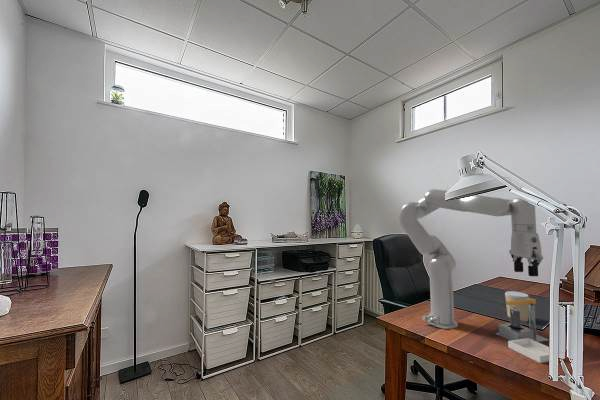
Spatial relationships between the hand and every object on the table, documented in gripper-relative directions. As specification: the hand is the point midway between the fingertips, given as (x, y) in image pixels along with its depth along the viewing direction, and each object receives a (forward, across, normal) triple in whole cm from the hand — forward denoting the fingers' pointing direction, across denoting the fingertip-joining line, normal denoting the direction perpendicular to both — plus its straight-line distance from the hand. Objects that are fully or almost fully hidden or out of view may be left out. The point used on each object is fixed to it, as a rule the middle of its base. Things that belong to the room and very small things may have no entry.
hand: (525, 273), depth 106 cm
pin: (+27, +5, +2) cm, 28 cm away
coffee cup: (+28, +26, -15) cm, 41 cm away
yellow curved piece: (+14, +6, -2) cm, 15 cm away
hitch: (+28, +6, -1) cm, 28 cm away
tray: (+28, -8, +4) cm, 29 cm away
